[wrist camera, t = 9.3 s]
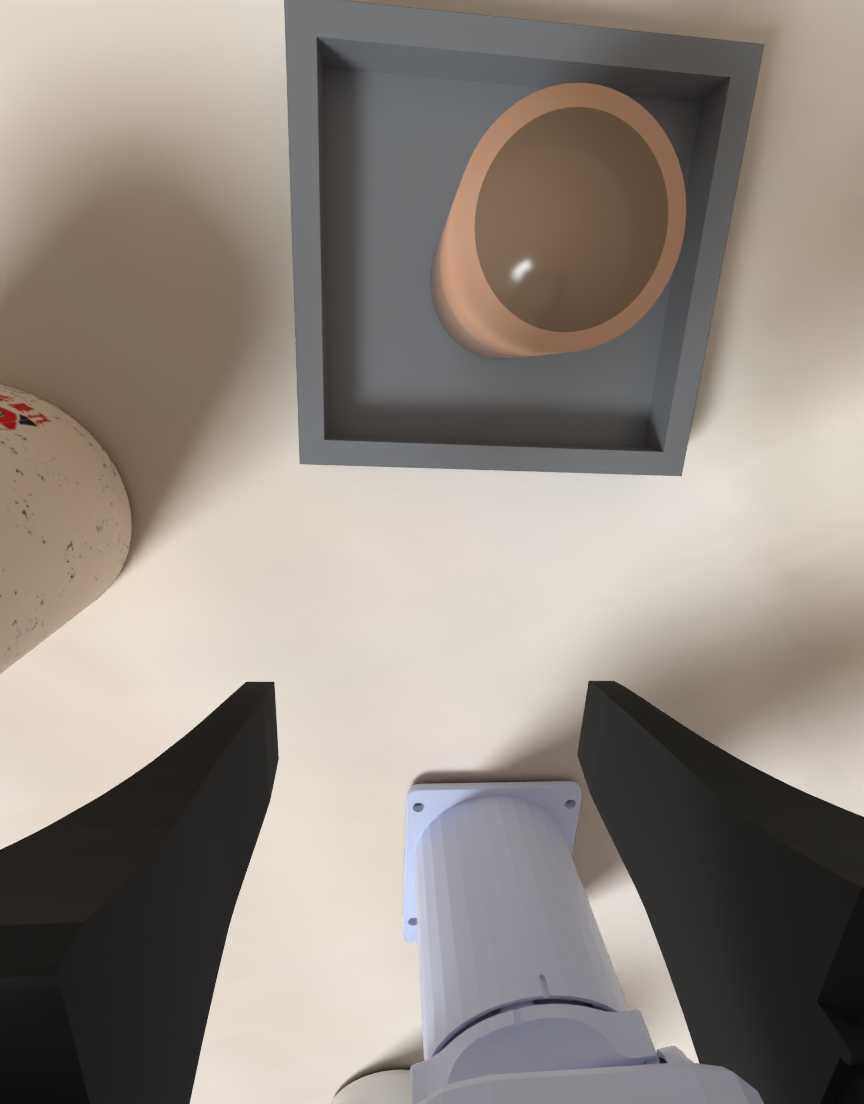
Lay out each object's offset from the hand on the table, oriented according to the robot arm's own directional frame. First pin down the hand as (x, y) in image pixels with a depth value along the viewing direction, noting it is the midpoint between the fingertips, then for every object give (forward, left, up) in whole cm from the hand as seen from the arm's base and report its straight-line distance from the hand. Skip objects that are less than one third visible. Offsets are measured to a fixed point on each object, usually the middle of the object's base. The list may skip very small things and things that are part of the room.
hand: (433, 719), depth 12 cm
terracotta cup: (+10, -3, -9) cm, 14 cm away
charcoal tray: (+11, -3, -9) cm, 14 cm away
